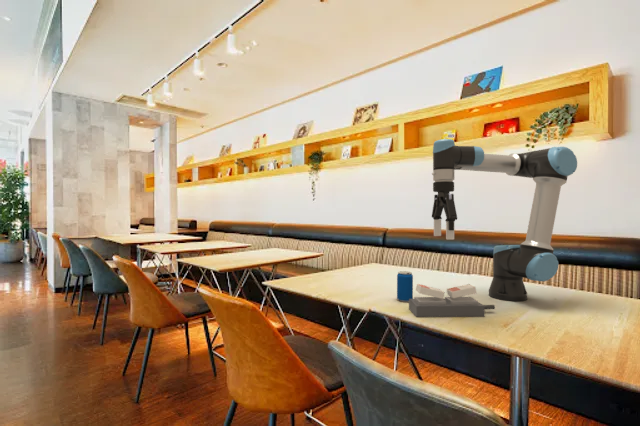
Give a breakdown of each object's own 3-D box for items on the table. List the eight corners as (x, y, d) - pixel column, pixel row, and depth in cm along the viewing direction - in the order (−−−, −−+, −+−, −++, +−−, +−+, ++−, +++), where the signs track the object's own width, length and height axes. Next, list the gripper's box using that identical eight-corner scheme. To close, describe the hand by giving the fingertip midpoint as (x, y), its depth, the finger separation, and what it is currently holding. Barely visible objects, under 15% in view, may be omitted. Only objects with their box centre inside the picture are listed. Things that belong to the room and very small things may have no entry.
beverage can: (413, 303, 147) (413, 274, 146) (397, 302, 148) (397, 273, 148) (412, 298, 153) (412, 271, 153) (396, 298, 154) (397, 270, 154)
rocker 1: (438, 295, 136) (439, 288, 136) (443, 298, 131) (444, 292, 131) (415, 290, 136) (417, 283, 136) (419, 293, 131) (421, 286, 131)
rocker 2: (470, 290, 136) (469, 283, 136) (476, 293, 131) (475, 286, 131) (447, 294, 136) (446, 288, 136) (453, 298, 131) (451, 291, 131)
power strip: (487, 308, 139) (487, 295, 139) (500, 316, 129) (500, 302, 129) (408, 308, 138) (409, 295, 138) (416, 317, 128) (416, 302, 128)
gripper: (423, 183, 145) (423, 234, 146) (445, 179, 120) (445, 241, 121) (442, 183, 145) (441, 234, 146) (467, 179, 120) (467, 241, 121)
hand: (443, 237), depth 133 cm, fingers open, 13 cm apart
